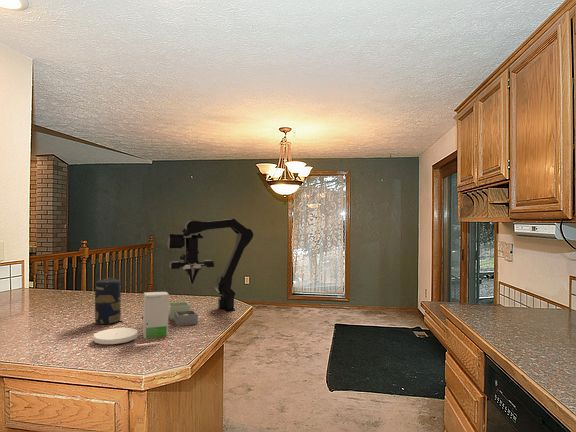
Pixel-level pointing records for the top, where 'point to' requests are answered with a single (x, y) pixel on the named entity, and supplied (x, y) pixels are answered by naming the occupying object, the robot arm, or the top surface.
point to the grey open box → (186, 318)
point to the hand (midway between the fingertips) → (191, 283)
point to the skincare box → (155, 314)
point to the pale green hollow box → (177, 308)
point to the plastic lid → (115, 336)
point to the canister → (107, 301)
